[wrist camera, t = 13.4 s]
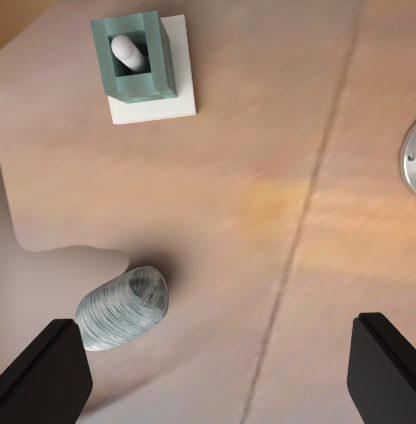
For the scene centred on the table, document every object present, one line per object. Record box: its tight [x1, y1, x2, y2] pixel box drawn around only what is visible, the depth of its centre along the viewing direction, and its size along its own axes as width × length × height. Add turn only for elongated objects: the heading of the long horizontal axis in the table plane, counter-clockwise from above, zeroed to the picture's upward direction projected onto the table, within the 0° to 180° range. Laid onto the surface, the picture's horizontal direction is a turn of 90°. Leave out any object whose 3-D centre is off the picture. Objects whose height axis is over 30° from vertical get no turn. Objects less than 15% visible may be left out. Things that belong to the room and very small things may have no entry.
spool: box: [75, 266, 169, 351], centre depth 34 cm, size 14×10×10 cm
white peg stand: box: [108, 15, 197, 125], centre depth 25 cm, size 10×10×10 cm
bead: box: [90, 11, 177, 104], centre depth 25 cm, size 6×6×6 cm
